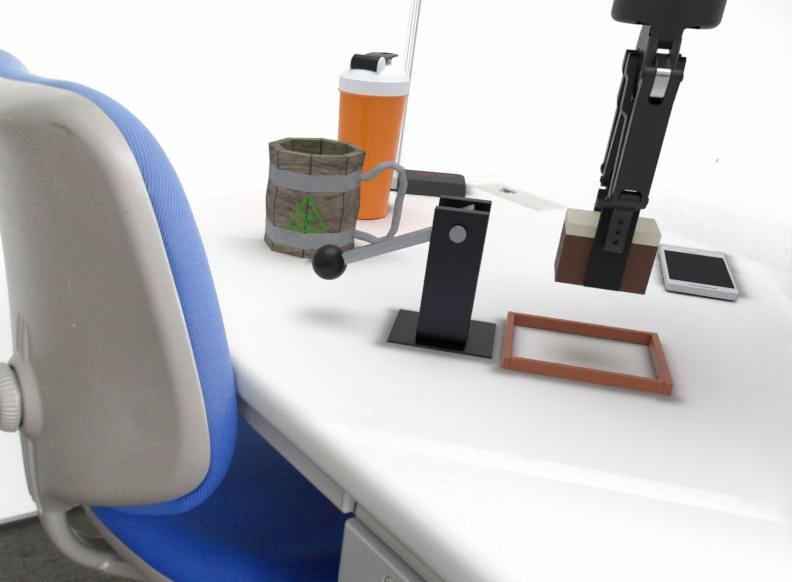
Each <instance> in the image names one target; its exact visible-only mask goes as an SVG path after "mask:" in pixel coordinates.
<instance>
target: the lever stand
mask: <svg viewBox="0 0 792 582" xmlns="http://www.w3.org/2000/svg"><path fill="white" fill-rule="evenodd" d="M438 199H439V200H438V205H435V207H434V211H433V217H432V225H431V226H432V230H431V237H430V241H429V243H428V252H427V256H426V257H427V258H426V264H425V271H424V278H423V285H422V290H421V298H420V304H419V311H415V310H410V309H404V308H403V309H402V308H399V310H398V313H397V315H396V317H395V319H394V322H393V325H392V328H391V330H390V332H389V334H388V336H387V339H386V343H390V344H395V345H402V346H407V347H413V348H419V349H420V348H421V349H427V350H433V351H439V352H445V353H451V354H458V355H463V356H464V355H465V356H469V357H476V358H483V359H490V360H492V358H493V350H494V342H495V334H496V326H497V323H495V322H488V321H483V320H475V319H472V316H473V310H474V306H475V305H474V304H475V299H476V294H477V288H478V284H479V283H478V282H479V276H480V272H481V266H482V260H483V255H484V250H485V243H486V238H487V234H488V233H487V232H488V227H489V221H490V216H491V210H492V205H493V201H492V200H489V199H480V198H474V197H473V198H472V197H466V196H465V197H457V196H448V195H441V196H439V198H438ZM473 204H474V205H475V208H476V210H468V209H460V208H463V207H466V206H469V205H473Z"/></svg>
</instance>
